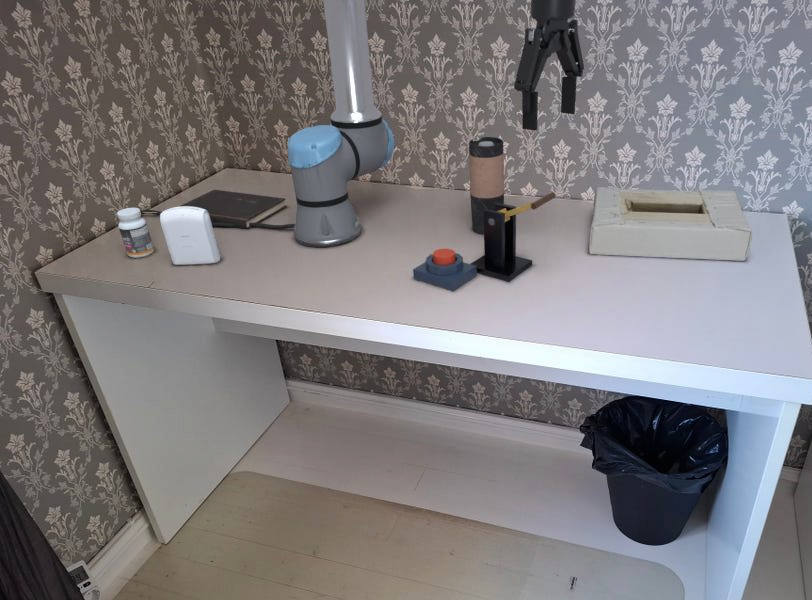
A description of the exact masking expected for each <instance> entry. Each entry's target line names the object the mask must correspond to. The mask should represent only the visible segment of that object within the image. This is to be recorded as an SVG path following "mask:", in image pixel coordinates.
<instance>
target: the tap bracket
mask: <svg viewBox="0 0 812 600" xmlns="http://www.w3.org/2000/svg"><path fill="white" fill-rule="evenodd" d="M504 208H506V210H507V211H509V210H512V209H515V208H517V206H515V205H510V204H506V203H504V204H502V203H496V204H495V211H493V210H489V209H485V210H484V234H483V247H484V249H483V252H484V253H483V255H482V256H480V257H479V258H477V259H475V260H473V261H472V262H471V263H470V264H471V265H475V266H477V274H479V275H482V276H483V275H484V276H487V277H490V278H493V279H497V280H501V281H503V282H508V283H509V282H511V281H513V280H514V279H516V278H517V277H518V276H519V275H521V274H523V273H524V272H525V271H526V270H528V269H529V268H531V267H532V266H533V259H529V258H525V257H522V256H517V248H516V247H517V214H515V215H512V216H510V220H508V221H506V222H505V213H502V212H498V211H499V210H501V209H504Z"/></svg>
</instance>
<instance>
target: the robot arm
mask: <svg viewBox="0 0 812 600" xmlns="http://www.w3.org/2000/svg"><path fill="white" fill-rule="evenodd" d="M365 1H366V0H322V4H323V11H324V13H323V14H324V20H325V27H326V28H325V29H326V36H327V37H326V38H327V45H328V53H329V61H330V69H331V70H330V71H331V78H332V84H333V86H332V87H333V94H334V103H335V109H334V111H332V113H331V114H330V117H329V118H330V125H329V124H318V125H314V126H309V127H305V128H302V129H300V130H298V131H296V132H295V133H293V134H292V135H291V136H290V137H289V139H288V141H287V153H288V155H287V159H288V163H289V167H290V172H291V177H292V184H293V188H294V189H293V190H294V194H295V200H296V206H297V207H296V213H295V223H287V224H270V223H269V224H268V223H263V222H260V223H249V226H251V228H253V227H254V228H263V229H271V230H285V229H293V235H294V240H295V241H296V242H297V243H298V244H300V245H303V246H307V247H312V248H327V247H335V246H339V245H344V244H346V243H349V242H351V241H353V240H355V239H357V238H358V237H359V236H360V235H361V233H362V227H361V222H360V219H359V218H358V216H357V214H356V211H355V209H354V207H353V205H352V203H351V201H350V196H349V190H348V189H349V188H348V182H350V181H353V180H355V179H357V178H360V177H363V176H365V175H367V174H370V173H374V172H377V171H378V170H379V169H381V168H383V167H384V166H386V165H387V164H388V163H389V161H390V160H391V158H392V156H393V154H394V150H395V138H394V133H393V131H392V129H391V128H390V127H389V126H390V125H389V124H388V122H387V121H386V120H384V119H383V114H382V112H381V111H380V110H379V109H378V108H377V107H376V106H375V99H374V89H373V79H372V78H373V77H372V66H371V56H370V45H369V34H368V24H367V23H368V22H367V13H366V11H367V10H366V2H365ZM575 14H576V0H530V17H531V18H532V19H533V20H535V21H536V27H535V28H533V27H532V28H531V27H527V28H526V29H525V31H524V44H523V48H522V52H521V56H520V61H519V63H518V68H517V72H516V76H515V80H514V85H513V89H514V90H516V92H521V96H522V97H521V110H522V114H521V115H522V116H521V117H522V123H521V124H522V125H521V128H522V130H527V131H535V132H536V131H537V130H538V111H539V109H538V106H539V91H536V89H537V86H538V84H539V81H540V79H541V77H542V73H543V70H544V68H545V66H546V64H547V60H548V59H549V58H550V57H551V56H552V54H554V53H555V55H556V56H557V57H556V58H557V59H558V61H559V64H560V66H561V69H562V71H563V73H564V76H562V77H561V96H560V97H561V98H560V99H561V100H560V113H561V114H568V115H575V114H576V102H577V99H576V98H577V79H578V78H582V77H583V74H584V72H583V71H584V70H585V65H584V60H583V59H584V58H583V54H582V49H581V43H580V38H579V33H578V32H579V31H578V30H579V29H578V28H579V27H578V24H579V23H578V20H577V19H572V18H574V17H575ZM577 77H578V78H577ZM141 211H142V212H157V213H141V217H142V216H143V215H147V214H148V215H149V214H151V215H156V216H160V214H161V213H162V212H163V211H159V210H154V209H144V210H141ZM211 223H212V227H219V228H220V227H222V228H236V227H235V225H233V224H231V223H217V222H211Z"/></svg>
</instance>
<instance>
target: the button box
mask: <svg viewBox="0 0 812 600" xmlns="http://www.w3.org/2000/svg"><path fill="white" fill-rule="evenodd" d="M412 273H413V275H412V276H413V279H414V281H415V280H416V281H418V282H422V283H425V284H428V285H432V286H435V287H439V288H442V289H445V290H448V291H451V292H454V291H456V290H458V289H459V288H461V287H462V286H464V285H465V284H467V283H468V282H470V281H471V280H473V279H475V278H476V277H477V276H478V273H477V266H475V265H471V263H467V262H464V257H463V256H462V255H461V254H460V253H457V252H455V262H454V263H452V264H447V265H439V264H435V263H434V262H433V253H431V254H430V255H428V256H426V258H425V261H424V262H423V263H421V264H420V265H418V266H416V267H414V268H413V269H412Z"/></svg>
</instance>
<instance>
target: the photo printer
mask: <svg viewBox="0 0 812 600" xmlns="http://www.w3.org/2000/svg"><path fill="white" fill-rule="evenodd" d="M179 206H180V207H179ZM179 206H175V207H170V208H167V209H165V210H162V211H161V212H162V213H161V214H160V215H159V221H160V225H161V229H162V232H163V236H164V239H165V242H166V245H167V249H168V252H169V256H170V258H171V261H172V264H173V265H174V266H175V265H176V266H177V265H180V266H181V265H182V266H185V265H205V264H217V263H218V262H220V260H221V253H220V250H219V246H218V242H217V238H216V234H215V231H214V226H212V223H211V219H210V216H209V213H208V211H207V210H205V209H202V208H198V207H191V206H181V205H179Z"/></svg>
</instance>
